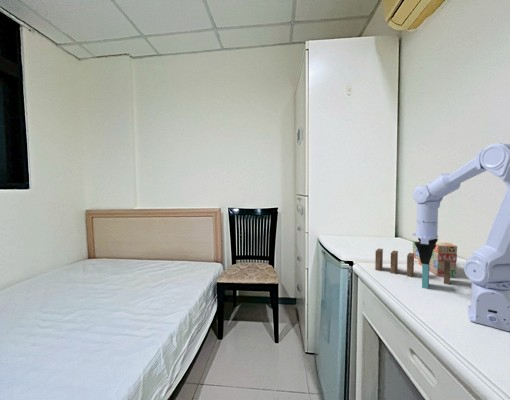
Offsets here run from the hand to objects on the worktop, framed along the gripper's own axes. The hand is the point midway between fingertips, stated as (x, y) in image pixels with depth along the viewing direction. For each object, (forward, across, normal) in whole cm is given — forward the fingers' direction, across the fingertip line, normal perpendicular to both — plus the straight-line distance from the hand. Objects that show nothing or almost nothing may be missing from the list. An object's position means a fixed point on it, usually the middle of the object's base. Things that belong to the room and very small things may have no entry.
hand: (426, 261), depth 80 cm
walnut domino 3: (+9, -9, -6) cm, 14 cm away
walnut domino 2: (+9, -9, -11) cm, 17 cm away
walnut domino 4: (+9, -9, +6) cm, 14 cm away
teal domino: (+9, 0, 0) cm, 9 cm away
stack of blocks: (+9, -24, 0) cm, 26 cm away
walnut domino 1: (+9, -9, -16) cm, 21 cm away
